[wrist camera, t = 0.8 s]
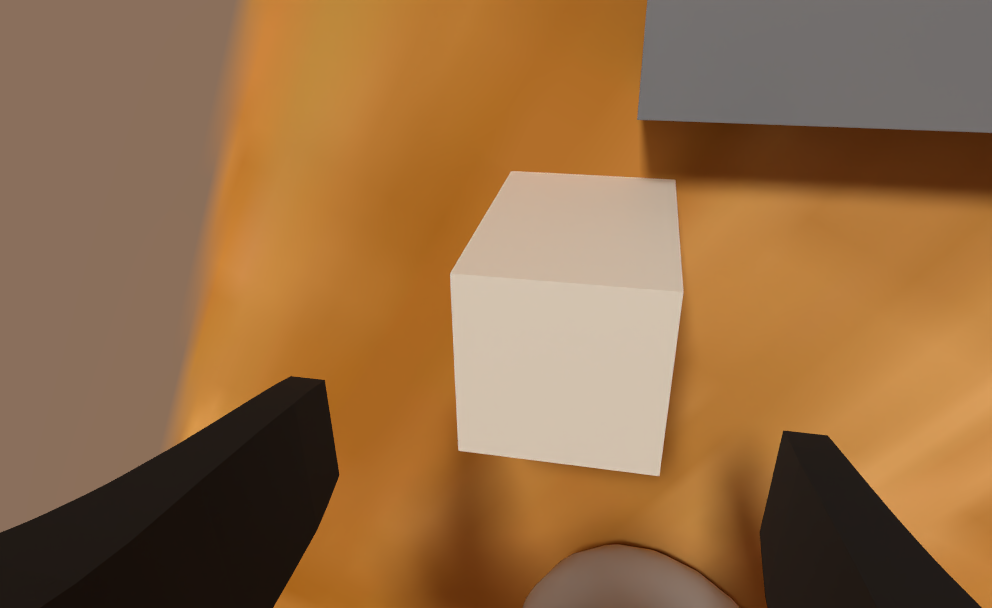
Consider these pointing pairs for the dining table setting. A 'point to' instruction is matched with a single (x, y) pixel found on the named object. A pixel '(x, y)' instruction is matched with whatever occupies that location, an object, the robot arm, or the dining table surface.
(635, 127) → the dining table surface
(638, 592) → the donut
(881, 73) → the tile
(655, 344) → the block
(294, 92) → the dining table surface
